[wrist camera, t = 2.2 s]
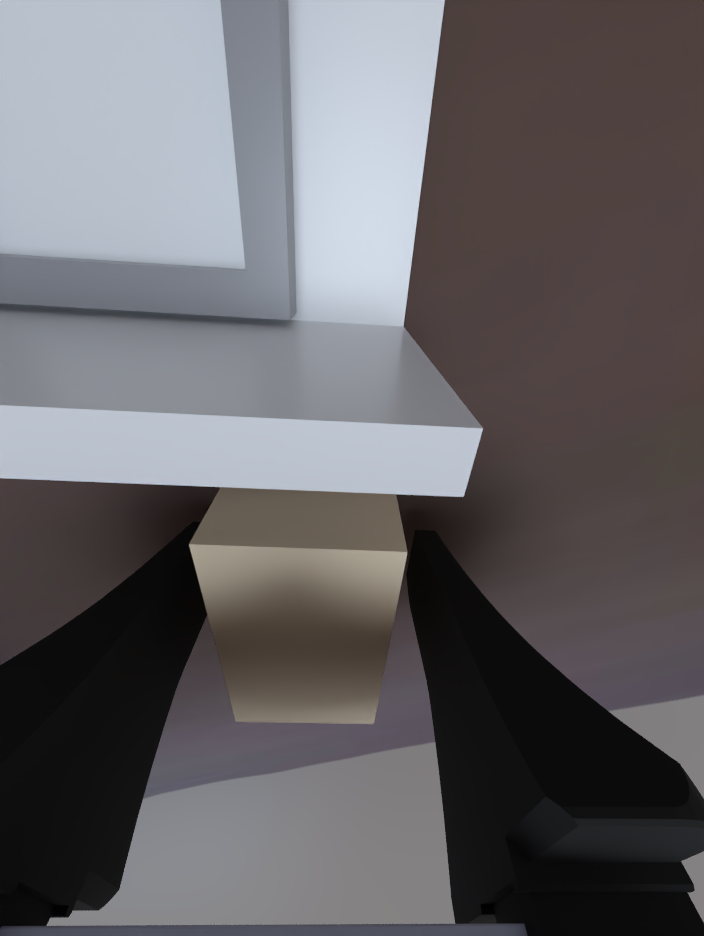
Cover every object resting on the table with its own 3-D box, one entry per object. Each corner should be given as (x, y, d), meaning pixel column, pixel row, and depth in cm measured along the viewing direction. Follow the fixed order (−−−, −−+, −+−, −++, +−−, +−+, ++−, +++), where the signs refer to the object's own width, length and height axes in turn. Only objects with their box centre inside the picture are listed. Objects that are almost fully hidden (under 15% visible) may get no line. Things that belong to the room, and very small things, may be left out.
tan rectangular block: (366, 584, 14) (373, 724, 10) (270, 581, 14) (235, 721, 10) (384, 433, 11) (407, 552, 6) (254, 427, 10) (188, 544, 6)
